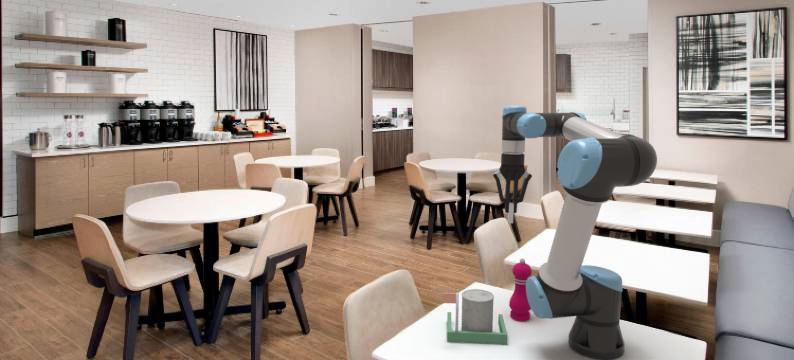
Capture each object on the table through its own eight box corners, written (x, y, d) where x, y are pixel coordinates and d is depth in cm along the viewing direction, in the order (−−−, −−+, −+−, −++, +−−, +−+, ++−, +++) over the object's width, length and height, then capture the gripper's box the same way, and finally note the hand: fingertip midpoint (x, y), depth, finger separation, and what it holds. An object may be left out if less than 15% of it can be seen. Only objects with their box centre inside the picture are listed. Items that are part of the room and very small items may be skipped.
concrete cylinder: (491, 342, 151) (493, 302, 149) (459, 338, 153) (460, 299, 151) (493, 328, 160) (494, 290, 158) (462, 325, 162) (463, 288, 160)
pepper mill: (507, 312, 171) (510, 254, 168) (529, 313, 170) (532, 255, 167) (509, 321, 164) (511, 261, 161) (532, 322, 163) (535, 262, 160)
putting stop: (502, 323, 163) (503, 278, 161) (507, 344, 149) (509, 295, 147) (442, 320, 165) (443, 276, 162) (442, 341, 151) (443, 293, 149)
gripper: (531, 151, 172) (528, 220, 176) (492, 151, 173) (489, 219, 177) (535, 154, 165) (531, 225, 168) (494, 153, 166) (491, 224, 170)
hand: (510, 222), depth 173 cm, fingers closed
